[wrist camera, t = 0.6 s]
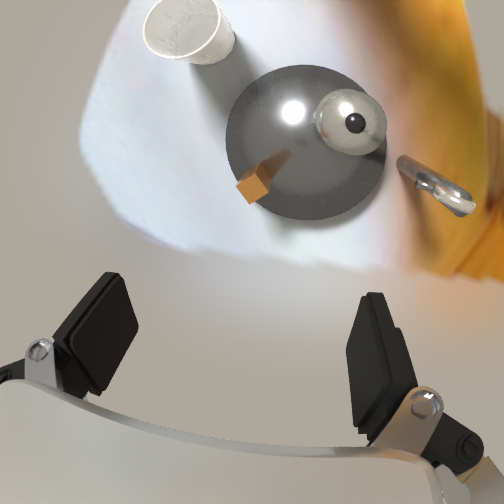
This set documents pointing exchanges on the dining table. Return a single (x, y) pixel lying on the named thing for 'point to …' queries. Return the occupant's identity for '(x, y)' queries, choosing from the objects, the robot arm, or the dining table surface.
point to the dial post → (437, 186)
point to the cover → (350, 122)
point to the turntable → (295, 147)
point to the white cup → (188, 31)
